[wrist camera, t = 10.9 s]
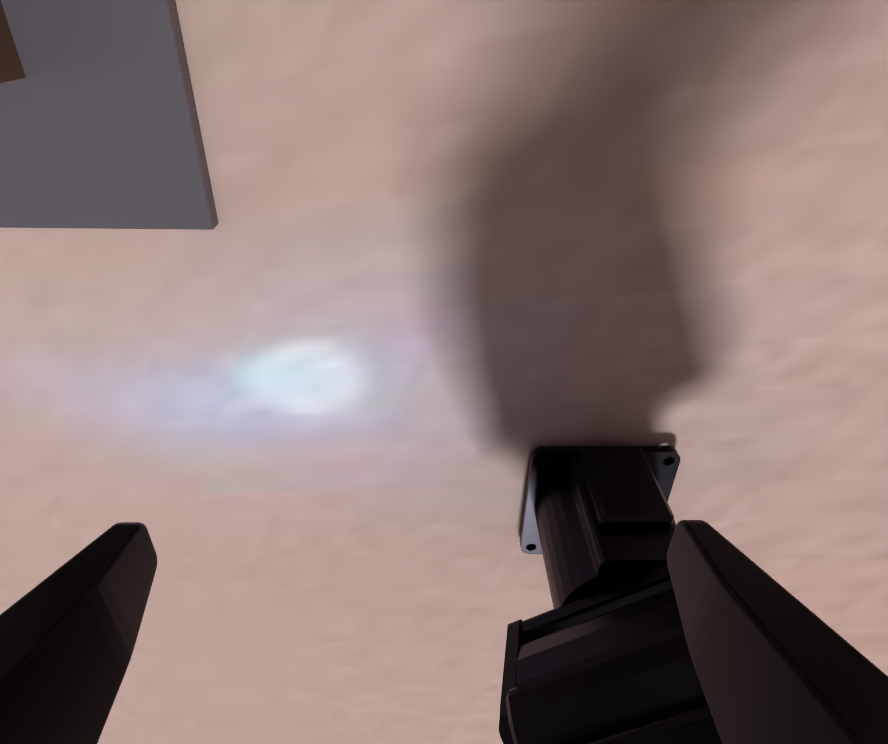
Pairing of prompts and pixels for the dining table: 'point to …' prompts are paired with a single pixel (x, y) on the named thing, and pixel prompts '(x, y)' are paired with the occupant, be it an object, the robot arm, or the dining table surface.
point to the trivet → (101, 120)
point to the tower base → (8, 53)
